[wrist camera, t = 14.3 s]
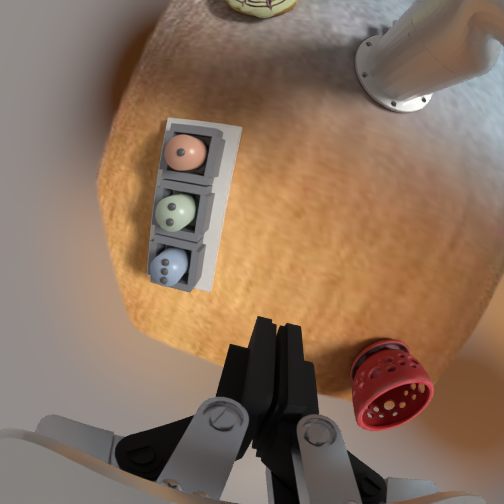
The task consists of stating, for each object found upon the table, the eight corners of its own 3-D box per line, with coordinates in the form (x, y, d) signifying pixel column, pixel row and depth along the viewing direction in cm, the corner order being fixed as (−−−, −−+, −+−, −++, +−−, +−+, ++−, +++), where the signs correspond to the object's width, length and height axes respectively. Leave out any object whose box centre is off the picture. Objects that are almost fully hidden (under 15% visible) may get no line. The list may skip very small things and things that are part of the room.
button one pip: (182, 136, 32) (167, 132, 27) (212, 140, 32) (201, 136, 27) (176, 167, 33) (160, 167, 28) (206, 172, 33) (194, 173, 28)
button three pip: (166, 241, 36) (150, 252, 31) (193, 247, 36) (181, 260, 31) (163, 267, 37) (148, 282, 32) (190, 274, 37) (178, 290, 32)
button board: (172, 119, 33) (157, 113, 29) (242, 128, 33) (237, 122, 29) (150, 272, 41) (136, 285, 36) (212, 287, 40) (204, 303, 36)
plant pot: (336, 349, 42) (351, 400, 31) (407, 322, 40) (437, 364, 29) (349, 395, 46) (361, 442, 34) (410, 371, 43) (432, 413, 32)
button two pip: (172, 189, 34) (156, 194, 29) (202, 195, 34) (190, 200, 29) (168, 219, 35) (152, 228, 30) (197, 225, 35) (184, 235, 30)
